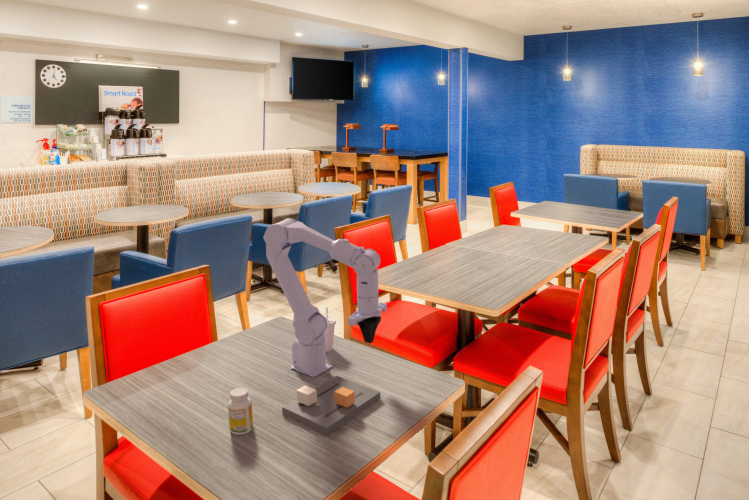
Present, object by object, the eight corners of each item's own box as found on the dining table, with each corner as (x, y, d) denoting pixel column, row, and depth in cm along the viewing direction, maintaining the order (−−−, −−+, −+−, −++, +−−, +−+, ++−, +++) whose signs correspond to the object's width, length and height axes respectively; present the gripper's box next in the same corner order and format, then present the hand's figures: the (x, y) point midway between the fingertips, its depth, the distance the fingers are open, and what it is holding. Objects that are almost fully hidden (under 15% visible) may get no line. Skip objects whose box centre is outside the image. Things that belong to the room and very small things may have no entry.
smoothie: (333, 354, 161) (332, 311, 158) (313, 352, 163) (311, 310, 159) (339, 345, 168) (337, 304, 164) (319, 344, 169) (318, 303, 165)
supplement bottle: (239, 438, 120) (235, 400, 117) (225, 429, 123) (221, 392, 121) (258, 427, 124) (255, 391, 121) (244, 420, 127) (241, 383, 125)
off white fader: (297, 401, 130) (296, 390, 130) (305, 396, 133) (305, 385, 132) (308, 406, 128) (308, 395, 127) (317, 401, 130) (316, 390, 129)
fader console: (282, 414, 129) (282, 406, 129) (337, 382, 144) (336, 375, 144) (327, 435, 120) (327, 427, 120) (380, 399, 135) (380, 392, 135)
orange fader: (334, 402, 129) (334, 391, 129) (342, 397, 132) (342, 386, 131) (346, 407, 127) (346, 396, 126) (354, 402, 129) (354, 391, 128)
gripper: (362, 305, 134) (363, 354, 137) (395, 290, 145) (395, 336, 148) (341, 300, 138) (343, 348, 141) (375, 286, 149) (376, 330, 152)
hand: (368, 341), depth 145 cm, fingers closed
